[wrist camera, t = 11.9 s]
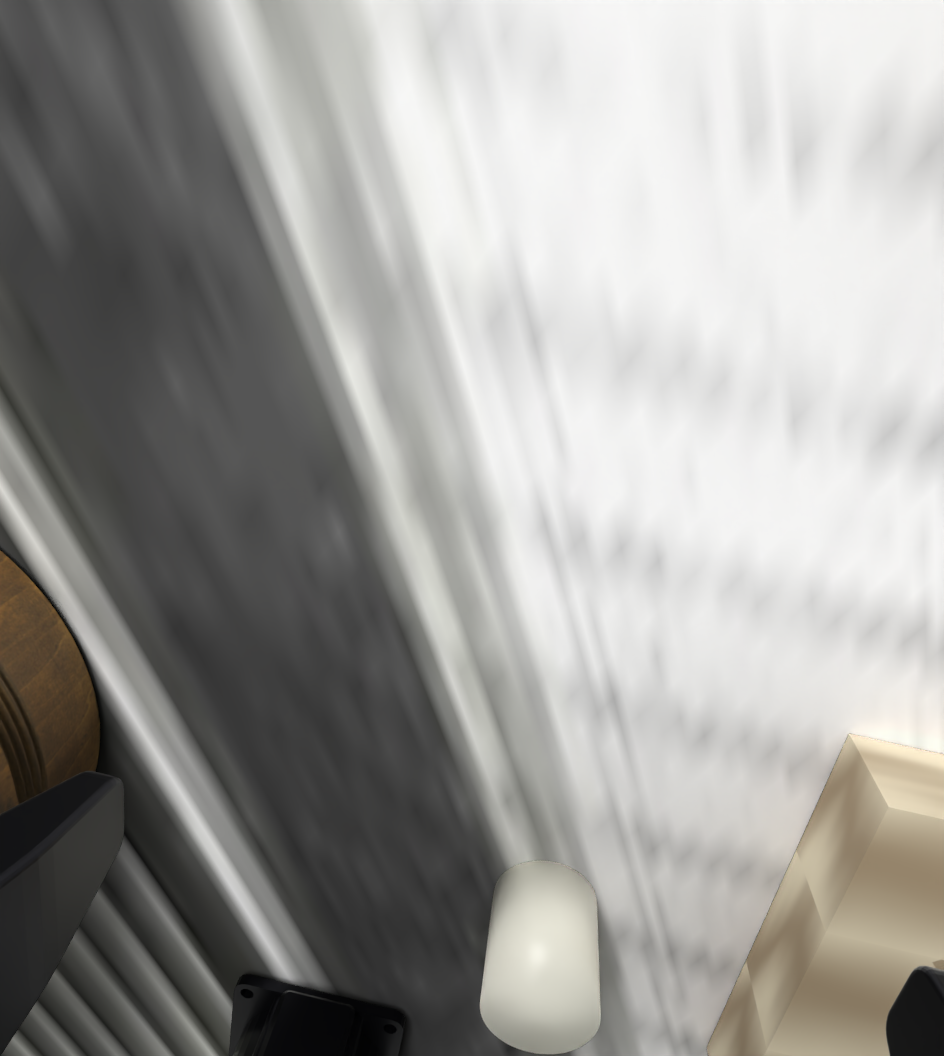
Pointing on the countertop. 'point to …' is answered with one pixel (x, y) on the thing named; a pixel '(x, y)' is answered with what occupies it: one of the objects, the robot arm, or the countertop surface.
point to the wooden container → (40, 694)
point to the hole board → (847, 912)
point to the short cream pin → (542, 959)
